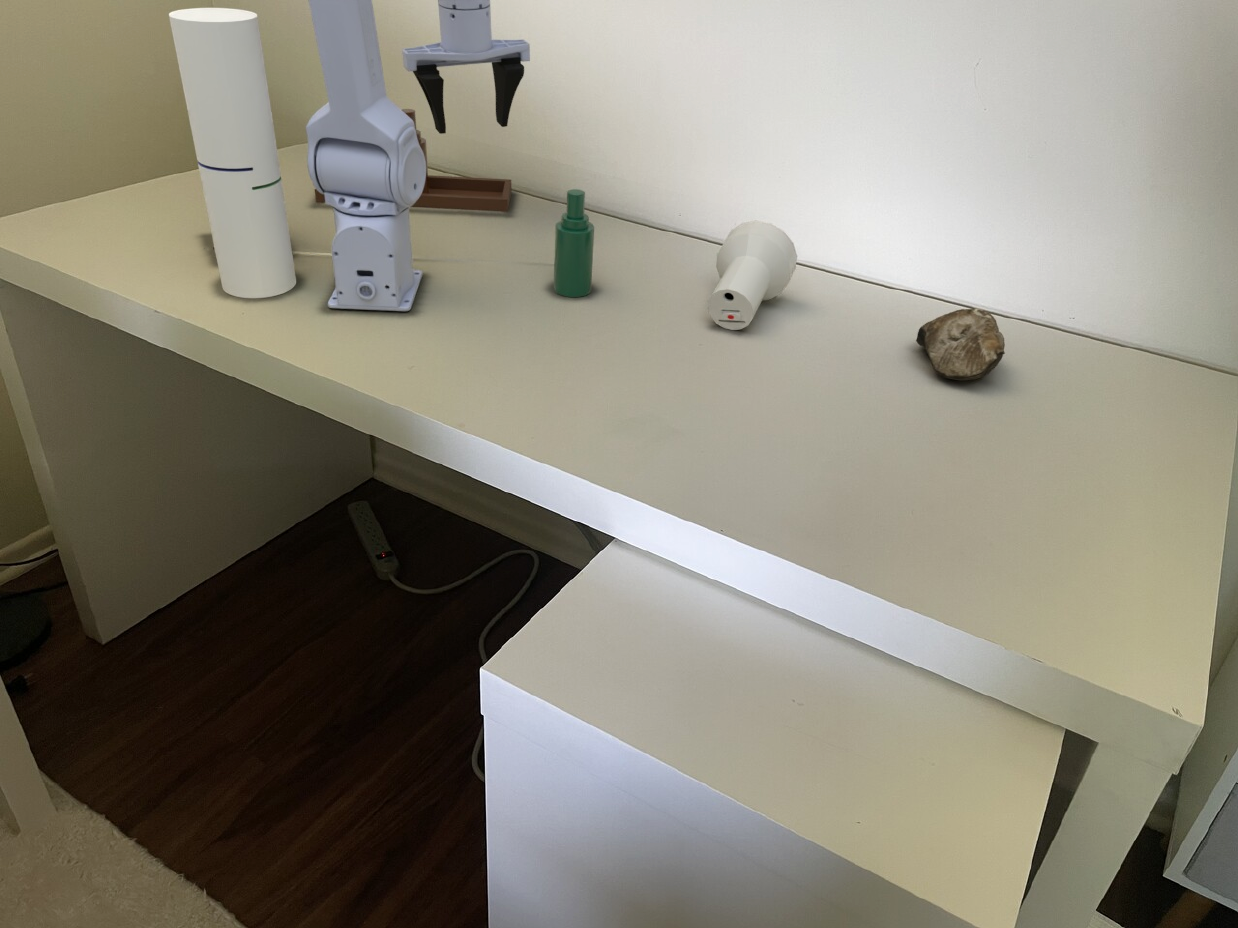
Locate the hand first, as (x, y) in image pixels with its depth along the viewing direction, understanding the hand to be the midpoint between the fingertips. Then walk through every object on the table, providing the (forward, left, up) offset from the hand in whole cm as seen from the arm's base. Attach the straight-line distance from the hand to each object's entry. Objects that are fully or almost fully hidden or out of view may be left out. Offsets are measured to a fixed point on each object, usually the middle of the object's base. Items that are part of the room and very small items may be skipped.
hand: (471, 127), depth 110 cm
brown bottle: (+3, +8, -10) cm, 13 cm away
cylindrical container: (-25, +19, -10) cm, 34 cm away
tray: (+3, +7, -10) cm, 13 cm away
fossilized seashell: (-37, -50, -10) cm, 63 cm away
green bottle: (-23, -13, -10) cm, 28 cm away
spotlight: (-26, -31, -10) cm, 42 cm away
